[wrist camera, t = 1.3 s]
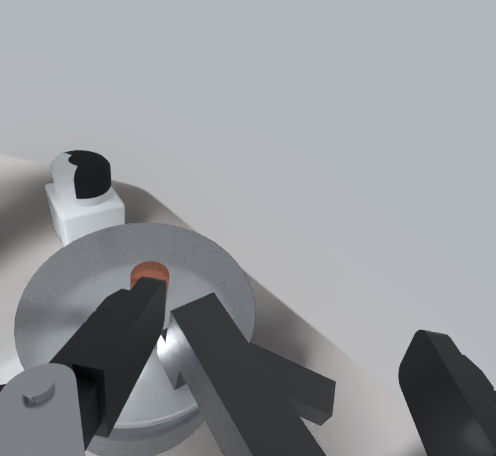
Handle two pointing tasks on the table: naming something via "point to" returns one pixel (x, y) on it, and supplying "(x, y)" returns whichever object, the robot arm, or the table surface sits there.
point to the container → (82, 195)
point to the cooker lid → (170, 334)
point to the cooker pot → (175, 431)
